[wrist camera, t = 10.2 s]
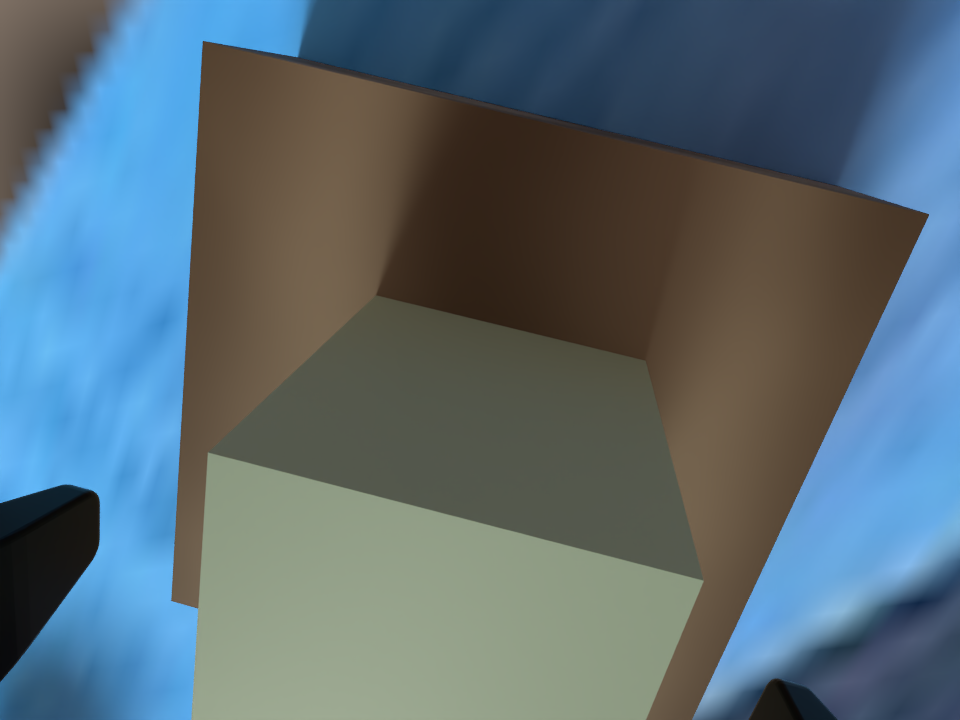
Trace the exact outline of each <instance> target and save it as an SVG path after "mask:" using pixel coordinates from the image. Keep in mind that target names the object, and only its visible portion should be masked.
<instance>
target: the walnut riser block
mask: <svg viewBox="0 0 960 720" xmlns="http://www.w3.org/2000/svg"><path fill="white" fill-rule="evenodd" d="M928 216H929V214H926V213H923V212H920V211H916V210H913V209H910V208H907V207H904V206H900V205H897V204H894V203H891V202H887V201H884V200H881V199H878V198H874V197H871V196H868V195H865V194H862V193H858V192H855V191H852V190H849V189H845V188H842V187H839V186H835V185H831V184H827V183H822V182H818V181H814V180H810V179H806V178H801V177H797V176H793V175H789V174H785V173H780V172H776V171H772V170H768V169H764V168H759V167H755V166H751V165H747V164H743V163H738V162H734V161H730V160H726V159H722V158H717V157H713V156H709V155H705V154H701V153H696V152H692V151H688V150H684V149H680V148H675V147H671V146H667V145H663V144H659V143H654V142H650V141H646V140H642V139H638V138H633V137H629V136H625V135H621V134H617V133H613V132H608V131H604V130H600V129H596V128H592V127H587V126H583V125H579V124H575V123H571V122H566V121H562V120H558V119H554V118H550V117H545V116H541V115H537V114H533V113H529V112H524V111H520V110H516V109H512V108H508V107H503V106H499V105H495V104H491V103H487V102H482V101H478V100H474V99H470V98H466V97H461V96H457V95H453V94H449V93H445V92H440V91H436V90H432V89H428V88H424V87H419V86H415V85H411V84H407V83H403V82H398V81H394V80H390V79H386V78H382V77H377V76H373V75H369V74H365V73H361V72H356V71H352V70H348V69H344V68H340V67H335V66H331V65H327V64H323V63H319V62H314V61H310V60H306V59H302V58H298V57H292V56H286V55H281V54H275V53H269V52H263V51H257V50H252V49H246V48H240V47H234V46H228V45H223V44H217V43H211V42H205V41H203V48H202V66H201V84H200V102H199V119H198V137H197V155H196V173H195V191H194V208H193V226H192V244H191V262H190V280H189V297H188V315H187V333H186V351H185V368H184V386H183V404H182V422H181V440H180V457H179V475H178V493H177V511H176V529H175V546H174V564H173V582H172V600H171V601H174V602H177V603H181V604H184V605H188V606H191V607H195V608H198V606H199V590H200V574H201V557H202V541H203V525H204V509H205V492H206V476H207V460H208V452H209V451H210V450H211V449H212V448H213V447H214V446H215V445H217V444H218V443H219V442H220V441H221V440H222V439H223V438H224V437H225V436H226V435H227V434H228V433H229V432H230V431H232V430H233V429H234V428H235V427H236V426H237V425H238V424H239V423H240V422H241V421H242V420H243V419H244V418H245V417H246V416H248V415H249V414H250V413H251V412H252V411H253V410H254V409H255V408H256V407H257V406H258V405H259V404H260V403H261V402H262V401H264V400H265V399H266V398H267V397H268V396H269V395H270V394H271V393H272V392H273V391H274V390H275V389H276V388H277V387H278V386H280V385H281V384H282V383H283V382H284V381H285V380H286V379H287V378H288V377H289V376H290V375H291V374H292V373H293V372H295V371H296V370H297V369H298V368H299V367H300V366H301V365H302V364H303V363H304V362H305V361H306V360H307V359H308V358H309V357H311V356H312V355H313V354H314V353H315V352H316V351H317V350H318V349H319V348H320V347H321V346H322V345H323V344H324V343H325V342H327V341H328V340H329V339H330V338H331V337H332V336H333V335H334V334H335V333H336V332H337V331H338V330H339V329H340V328H341V327H343V326H344V325H345V324H346V323H347V322H348V321H349V320H350V319H351V318H352V317H353V316H354V315H355V314H356V313H358V312H359V311H360V310H361V309H362V308H363V307H364V306H365V305H366V304H367V303H368V302H369V301H370V300H371V299H372V298H374V297H375V296H376V295H377V296H381V297H385V298H389V299H393V300H397V301H402V302H406V303H410V304H414V305H418V306H422V307H426V308H430V309H435V310H439V311H443V312H447V313H451V314H455V315H459V316H463V317H468V318H472V319H476V320H480V321H484V322H488V323H492V324H496V325H501V326H505V327H509V328H513V329H517V330H521V331H525V332H529V333H533V334H538V335H542V336H546V337H550V338H554V339H558V340H562V341H566V342H571V343H575V344H579V345H583V346H587V347H591V348H595V349H599V350H604V351H608V352H612V353H616V354H620V355H624V356H628V357H632V358H637V359H641V360H645V361H646V364H647V368H648V372H649V375H650V379H651V383H652V387H653V390H654V394H655V398H656V402H657V406H658V409H659V413H660V417H661V421H662V425H663V428H664V432H665V436H666V440H667V443H668V447H669V451H670V455H671V459H672V462H673V466H674V470H675V474H676V477H677V481H678V485H679V489H680V493H681V496H682V500H683V504H684V508H685V511H686V515H687V519H688V523H689V527H690V530H691V534H692V538H693V542H694V545H695V549H696V553H697V557H698V561H699V564H700V568H701V572H702V576H703V579H704V582H703V584H702V586H701V589H700V591H699V594H698V596H697V598H696V601H695V603H694V606H693V608H692V610H691V613H690V615H689V618H688V620H687V622H686V625H685V627H684V630H683V632H682V634H681V637H680V639H679V642H678V644H677V646H676V649H675V651H674V654H673V656H672V658H671V661H670V663H669V666H668V668H667V670H666V673H665V675H664V678H663V680H662V682H661V685H660V687H659V690H658V692H657V694H656V697H655V699H654V702H653V704H652V706H651V709H650V711H649V714H648V716H647V719H646V720H692V718H693V716H694V714H695V712H696V710H697V708H698V705H699V703H700V701H701V699H702V697H703V695H704V693H705V691H706V688H707V686H708V684H709V682H710V680H711V678H712V676H713V674H714V671H715V669H716V667H717V665H718V663H719V661H720V659H721V656H722V654H723V652H724V650H725V648H726V646H727V644H728V642H729V639H730V637H731V635H732V633H733V631H734V629H735V627H736V625H737V622H738V620H739V618H740V616H741V614H742V612H743V610H744V608H745V605H746V603H747V601H748V599H749V597H750V595H751V593H752V591H753V588H754V586H755V584H756V582H757V580H758V578H759V576H760V574H761V571H762V569H763V567H764V565H765V563H766V561H767V559H768V557H769V554H770V552H771V550H772V548H773V546H774V544H775V542H776V539H777V537H778V535H779V533H780V531H781V529H782V527H783V525H784V522H785V520H786V518H787V516H788V514H789V512H790V510H791V508H792V505H793V503H794V501H795V499H796V497H797V495H798V493H799V491H800V488H801V486H802V484H803V482H804V480H805V478H806V476H807V474H808V471H809V469H810V467H811V465H812V463H813V461H814V459H815V457H816V454H817V452H818V450H819V448H820V446H821V444H822V442H823V440H824V437H825V435H826V433H827V431H828V429H829V427H830V425H831V423H832V420H833V418H834V416H835V414H836V412H837V410H838V408H839V405H840V403H841V401H842V399H843V397H844V395H845V393H846V391H847V388H848V386H849V384H850V382H851V380H852V378H853V376H854V374H855V371H856V369H857V367H858V365H859V363H860V361H861V359H862V357H863V354H864V352H865V350H866V348H867V346H868V344H869V342H870V340H871V337H872V335H873V333H874V331H875V329H876V327H877V325H878V323H879V320H880V318H881V316H882V314H883V312H884V310H885V308H886V306H887V303H888V301H889V299H890V297H891V295H892V293H893V291H894V289H895V286H896V284H897V282H898V280H899V278H900V276H901V274H902V271H903V269H904V267H905V265H906V263H907V261H908V259H909V257H910V254H911V252H912V250H913V248H914V246H915V244H916V242H917V240H918V237H919V235H920V233H921V231H922V229H923V227H924V225H925V223H926V220H927V218H928Z"/></svg>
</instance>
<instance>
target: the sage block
mask: <svg viewBox="0 0 960 720" xmlns="http://www.w3.org/2000/svg"><path fill="white" fill-rule="evenodd" d="M703 582H704V579H703V576H702V572H701V568H700V564H699V561H698V557H697V553H696V549H695V545H694V542H693V538H692V534H691V530H690V527H689V523H688V519H687V515H686V511H685V508H684V504H683V500H682V496H681V493H680V489H679V485H678V481H677V477H676V474H675V470H674V466H673V462H672V459H671V455H670V451H669V447H668V443H667V440H666V436H665V432H664V428H663V425H662V421H661V417H660V413H659V409H658V406H657V402H656V398H655V394H654V390H653V387H652V383H651V379H650V375H649V372H648V368H647V364H646V361H645V360H641V359H637V358H632V357H628V356H624V355H620V354H616V353H612V352H608V351H604V350H599V349H595V348H591V347H587V346H583V345H579V344H575V343H571V342H566V341H562V340H558V339H554V338H550V337H546V336H542V335H538V334H533V333H529V332H525V331H521V330H517V329H513V328H509V327H505V326H501V325H496V324H492V323H488V322H484V321H480V320H476V319H472V318H468V317H463V316H459V315H455V314H451V313H447V312H443V311H439V310H435V309H430V308H426V307H422V306H418V305H414V304H410V303H406V302H402V301H397V300H393V299H389V298H385V297H381V296H377V295H376V296H375V297H374V298H372V299H371V300H370V301H369V302H368V303H367V304H366V305H365V306H364V307H363V308H362V309H361V310H360V311H359V312H358V313H356V314H355V315H354V316H353V317H352V318H351V319H350V320H349V321H348V322H347V323H346V324H345V325H344V326H343V327H341V328H340V329H339V330H338V331H337V332H336V333H335V334H334V335H333V336H332V337H331V338H330V339H329V340H328V341H327V342H325V343H324V344H323V345H322V346H321V347H320V348H319V349H318V350H317V351H316V352H315V353H314V354H313V355H312V356H311V357H309V358H308V359H307V360H306V361H305V362H304V363H303V364H302V365H301V366H300V367H299V368H298V369H297V370H296V371H295V372H293V373H292V374H291V375H290V376H289V377H288V378H287V379H286V380H285V381H284V382H283V383H282V384H281V385H280V386H278V387H277V388H276V389H275V390H274V391H273V392H272V393H271V394H270V395H269V396H268V397H267V398H266V399H265V400H264V401H262V402H261V403H260V404H259V405H258V406H257V407H256V408H255V409H254V410H253V411H252V412H251V413H250V414H249V415H248V416H246V417H245V418H244V419H243V420H242V421H241V422H240V423H239V424H238V425H237V426H236V427H235V428H234V429H233V430H232V431H230V432H229V433H228V434H227V435H226V436H225V437H224V438H223V439H222V440H221V441H220V442H219V443H218V444H217V445H215V446H214V447H213V448H212V449H211V450H210V451H209V452H208V460H207V476H206V492H205V509H204V525H203V541H202V557H201V574H200V590H199V606H198V622H197V638H196V655H195V671H194V687H193V703H192V720H646V719H647V716H648V714H649V711H650V709H651V706H652V704H653V702H654V699H655V697H656V694H657V692H658V690H659V687H660V685H661V682H662V680H663V678H664V675H665V673H666V670H667V668H668V666H669V663H670V661H671V658H672V656H673V654H674V651H675V649H676V646H677V644H678V642H679V639H680V637H681V634H682V632H683V630H684V627H685V625H686V622H687V620H688V618H689V615H690V613H691V610H692V608H693V606H694V603H695V601H696V598H697V596H698V594H699V591H700V589H701V586H702V584H703Z"/></svg>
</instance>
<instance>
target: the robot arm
mask: <svg viewBox="0 0 960 720" xmlns="http://www.w3.org/2000/svg"><path fill="white" fill-rule="evenodd" d="M99 540H100V501H99V497H98V495H97V494H96V493H95V492H94V491H92V490H88V489H84V488H81V487H77V486H73V485H60V486H57V487H54V488H50V489H47V490H43V491H40V492H37V493H33V494H30V495H26V496H23V497H20V498H16V499H13V500H10V501H6V502H3V503H0V682H1V681H2V679H3V678H4V677H5V676H6V675H7V674H8V672H9V671H10V670H11V669H12V668H13V667H14V665H15V664H16V663H17V662H18V661H19V659H20V658H21V657H22V655H23V654H24V653H25V652H26V650H27V649H28V648H29V646H30V645H31V644H32V642H33V641H34V640H35V638H36V637H37V636H38V634H39V633H40V631H41V630H42V629H43V627H44V626H45V625H46V623H47V622H48V621H49V619H50V618H51V616H52V615H53V614H54V612H55V611H56V610H57V608H58V607H59V605H60V604H61V603H62V601H63V600H64V599H65V597H66V596H67V594H68V593H69V592H70V590H71V589H72V588H73V586H74V585H75V584H76V582H77V581H78V579H79V578H80V577H81V575H82V574H83V573H84V571H85V570H86V568H87V567H88V566H89V564H90V563H91V562H92V560H93V558H94V556H95V555H96V552H97V550H98V546H99ZM749 720H837V719H836V717H835V716H834V715H833V714H832V713H831V712H830V711H829V710H828V709H827V708H826V707H825V705H824V704H823V703H822V702H821V701H820V700H819V699H818V698H817V697H816V696H815V694H814V693H813V692H812V691H811V690H810V689H809V688H807V687H806V686H803V685H801V684H797V683H793V682H790V681H786V680H782V679H772V680H771V681H770V682H769V683H768V684H767V686H766V687H765V689H764V691H763V693H762V695H761V697H760V699H759V701H758V703H757V705H756V707H755V709H754V710H753V712H752V714H751V716H750V718H749Z"/></svg>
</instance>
